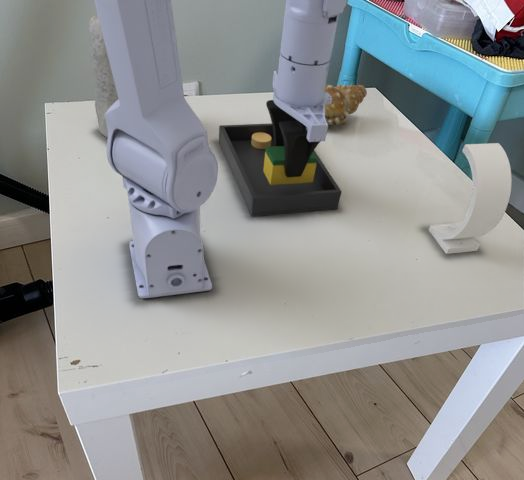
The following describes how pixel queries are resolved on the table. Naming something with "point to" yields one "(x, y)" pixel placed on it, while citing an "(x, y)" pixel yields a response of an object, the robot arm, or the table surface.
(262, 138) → the tan flat disc
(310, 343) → the table surface
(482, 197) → the headphone stand
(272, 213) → the tray
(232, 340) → the table surface
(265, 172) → the sponge
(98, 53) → the decorative stone
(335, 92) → the seashell
